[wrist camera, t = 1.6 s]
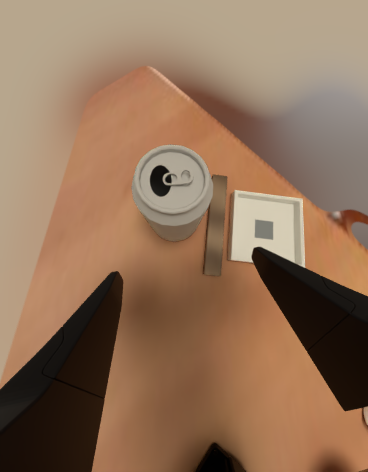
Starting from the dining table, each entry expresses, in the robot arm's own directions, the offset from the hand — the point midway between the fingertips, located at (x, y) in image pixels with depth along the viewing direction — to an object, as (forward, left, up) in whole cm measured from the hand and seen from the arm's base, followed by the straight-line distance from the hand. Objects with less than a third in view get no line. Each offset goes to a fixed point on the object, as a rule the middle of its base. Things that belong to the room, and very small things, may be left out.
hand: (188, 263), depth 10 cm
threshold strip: (+8, 0, -13) cm, 15 cm away
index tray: (+12, -7, -13) cm, 19 cm away
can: (+4, +5, -13) cm, 15 cm away
